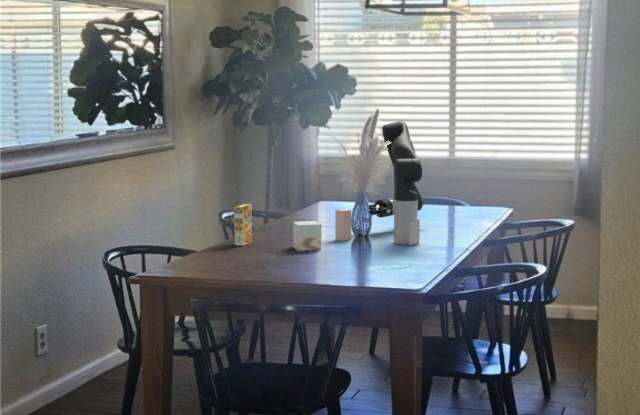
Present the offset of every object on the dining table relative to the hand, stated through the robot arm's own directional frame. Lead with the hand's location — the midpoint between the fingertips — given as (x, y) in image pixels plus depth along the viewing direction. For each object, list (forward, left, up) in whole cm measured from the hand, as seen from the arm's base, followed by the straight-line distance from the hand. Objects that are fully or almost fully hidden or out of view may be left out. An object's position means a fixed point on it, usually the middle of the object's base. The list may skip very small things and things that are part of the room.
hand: (361, 211), depth 391 cm
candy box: (+21, +46, -10) cm, 52 cm away
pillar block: (0, +11, -10) cm, 15 cm away
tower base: (-4, +36, -10) cm, 38 cm away
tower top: (-4, +36, -5) cm, 37 cm away
